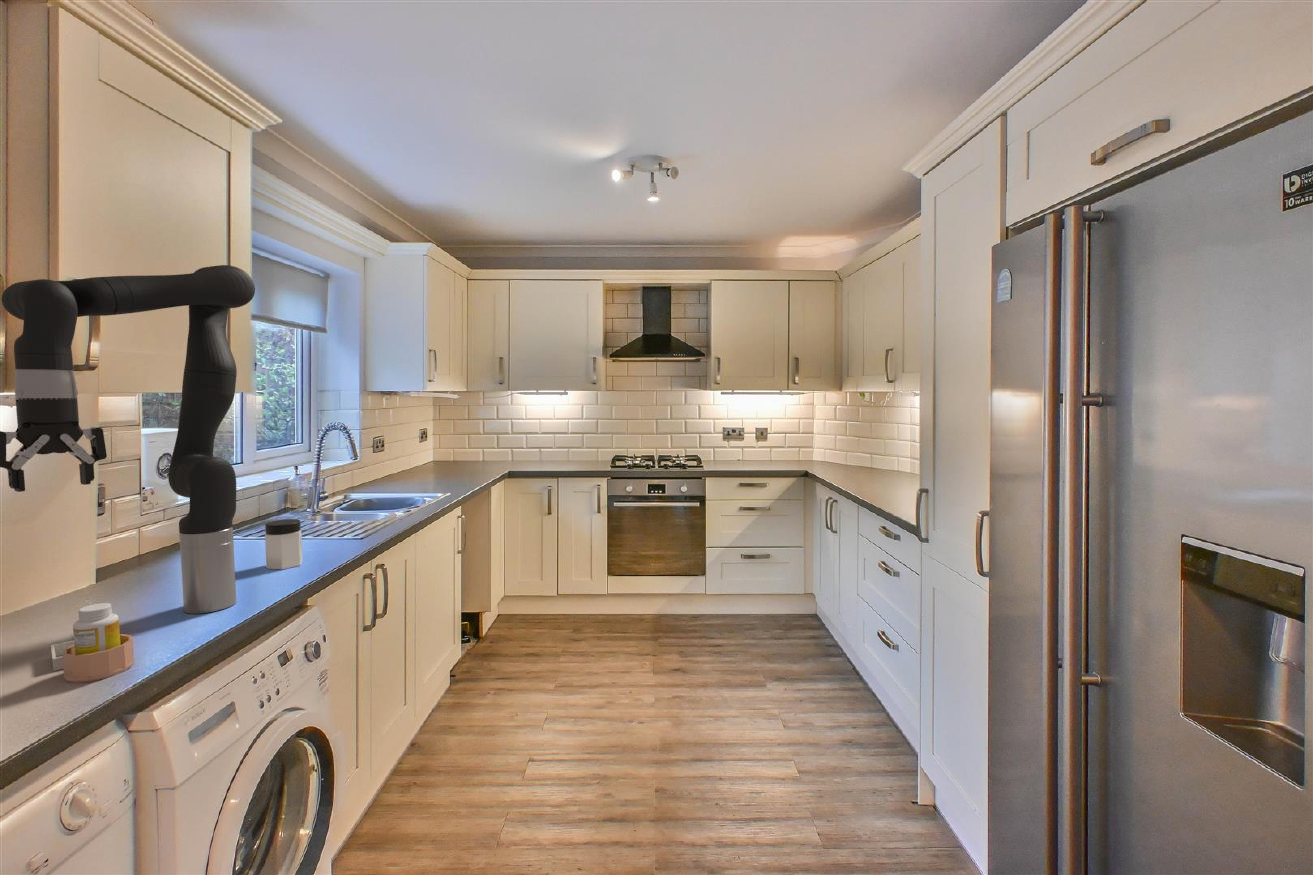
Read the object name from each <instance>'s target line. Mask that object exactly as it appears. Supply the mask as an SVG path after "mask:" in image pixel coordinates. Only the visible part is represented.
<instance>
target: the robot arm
mask: <svg viewBox="0 0 1313 875" xmlns="http://www.w3.org/2000/svg"><path fill="white" fill-rule="evenodd" d="M255 293H256V286H255V283H254V280H253V278H252V277H251V276H250V275H249V273H248V272H247V271H245V270H243V269H241V268H239V267H237V266H234V265H229V264H220V265H219V264H218V265H212V266H211V265H210V266H204V267H201V268H198V269H196V270H195V271H193V272H190V273H182V274H164V275H163V274H161V275H159V274H158V275H155V274H154V275H152V274H151V275H114V276H113V275H112V276H96V277H95V276H93V277H86V278H80V279H75V280H53V279H45V278H40V279H39V278H38V279H33V280H23V281H18V282H15V283H12V284H11V285H9V286H7V287H6V289H4V291H3V292H2V294H1V303H2V305H3V307H4V309H5V311H6V312H7V313H9V314H10V315H12V317H14V318H16V319H18V320H21V321H23V325H22V326H23V328H22V333H21V335H20V336H18V337H16V339H15V340H14V343H13V355H14V357H13V358H14V365H15V366H14V370H15V371H14V372H15V374H14V375H15V376H14V397H15V399H14V400H15V407H16V408H15V409H16V420H17V428H16V430H15V431H1V430H0V468H2V469H5V470H7V476H8V486H9V488H10V489H13V490H14V491H15V492H19V493H20V492H21V493H22V492H25V491H26V483H25V482H26V481H25V470H24V469H22V467H23V466H24V465H25V464H26V463H27V462H28V461H29V460H30V459H32V458H33V457H34V456H35V455H36V454H37V455H49V454H50V455H51V454H66V453H69V454H70V455H71V456H73V457H74V458H75V459H77V460H78V461H79V462H80V463H79V464H78V466H79V467H78V468H79V481H80V484H81V485H91V484H92V483H91V482H94V480H95V466H94V465H95V463H96V462H99V461H100V460H101V461H102V460H105V459H107V448H106V443H105V442H106V440H105V435H104V429H103V428H102V427H95V426H92V427H89V428H81V426H80V419H79V418H80V417H79V403H78V395H79V393H78V392H79V391H78V389H77V382H76V381H77V380H76V378H75V377H76V376H75V373H74V362H73V361H74V359H73V351H72V344H73V340H74V336H75V333H76V328H77V327H76V326H77V321H78V318H81V317H88V316H89V317H93V316H94V317H95V316H97V317H100V316H101V317H104V316H116V315H127V314H135V313H136V314H137V313H142V312H151V311H155V310H156V311H157V310H162V309H169V308H176V307H183V306H184V307H185V306H188V335H187V343H186V356H185V362H184V363H185V364H184V367H183V368H184V369H183V374H182V375H183V377H182V383H181V384H182V387H181V401H180V409H179V418H178V426H177V427H178V428H177V434H176V439H175V444H174V447H173V452H172V456H171V459H170V464H169V466H168V467H169V468H168V473H167V474H168V476H167V478H168V484H169V486H170V488H171V490H172V491H173V493H175V494H176V495H178V496H179V497H180V496H181V497H183V498H189V508H188V509H189V510H188V513H187V514H186V515H185V516H183V517H181V518H180V519H179V522H178V534H179V546H180V547H179V548H180V549H179V550H180V552H179V553H180V567H181V580H182V581H181V583H182V584H181V585H182V599H183V611H184V613H186V614H206V613H210V612H211V613H212V612H216V611H221V610H224V609H227V608H229V607H231V606H233V605H235V604H236V603H237V589H236V588H237V587H236V570H235V569H236V566H235V547H234V532H233V531H234V530H233V528H234V527H233V525H234V524H233V521H234V520H233V519H234V518H235V514H236V511H237V476H236V472H235V469H234V466H233V465H232V464H231V462H230V461H228V460H227V459H224V458H222V457H219V456H214V448H215V438H216V434H217V432H218V429H219V428H220V426H221V423H222V422H223V421H224V419H225V417H226V415H227V414H228V412H229V410H230V408H231V406H232V404H233V401H234V399H235V395H236V394H235V393H236V384H237V376H238V374H237V364H236V360H235V357H234V355H233V353H232V350H231V347H230V344H229V342H228V337H227V320H228V314H229V310H230V309H236V308H240V307H244V306H246V305H247V304H249V303H250V302H251V301H253V299H254V297H255ZM83 436H85V439H87V440H88V441H89V444H90V449H91V454H89V453H88V451H87V450H86V449H85V448H83V446H81V445H80V444H79V443H78V442H79V440H80V439H81V438H82V437H83ZM13 439H15V440H16V441H18V442H19V443H20V444H21V447H19V449H18V450H17V451H16V452H15V453H14V455H13V457H11V458H10V459H9V460H7V445H8V444H9V445H10V444H11V443H12V440H13Z"/></svg>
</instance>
